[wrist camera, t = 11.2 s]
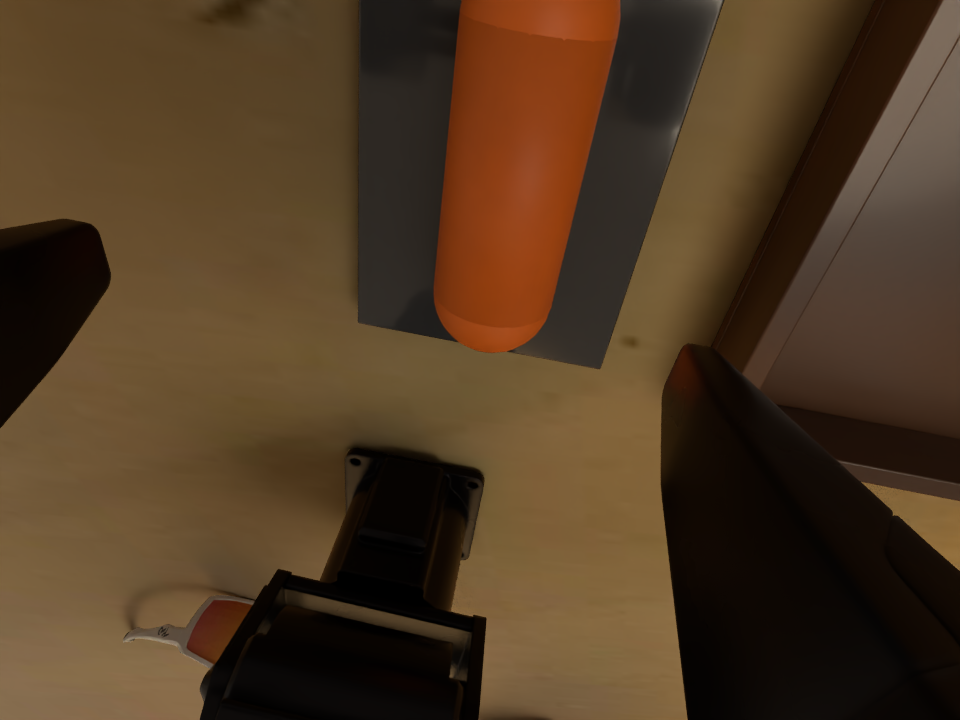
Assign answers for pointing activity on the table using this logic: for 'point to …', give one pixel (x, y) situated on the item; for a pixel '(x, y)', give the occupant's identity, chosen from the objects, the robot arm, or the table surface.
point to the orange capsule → (516, 160)
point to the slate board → (605, 186)
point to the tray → (870, 263)
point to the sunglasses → (202, 629)
